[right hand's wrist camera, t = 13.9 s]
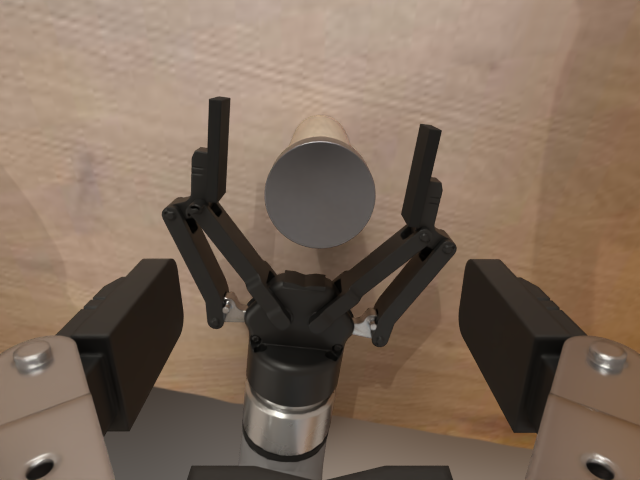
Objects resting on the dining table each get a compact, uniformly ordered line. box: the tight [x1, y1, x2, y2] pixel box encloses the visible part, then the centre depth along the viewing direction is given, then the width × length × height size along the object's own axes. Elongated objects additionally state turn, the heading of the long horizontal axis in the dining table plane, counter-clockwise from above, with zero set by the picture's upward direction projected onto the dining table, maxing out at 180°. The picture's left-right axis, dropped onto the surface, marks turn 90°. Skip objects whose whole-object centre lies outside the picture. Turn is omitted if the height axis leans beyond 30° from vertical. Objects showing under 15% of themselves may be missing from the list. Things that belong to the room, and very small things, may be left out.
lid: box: [265, 136, 375, 248], centre depth 20 cm, size 5×5×2 cm
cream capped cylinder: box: [289, 115, 351, 146], centre depth 27 cm, size 4×4×15 cm
